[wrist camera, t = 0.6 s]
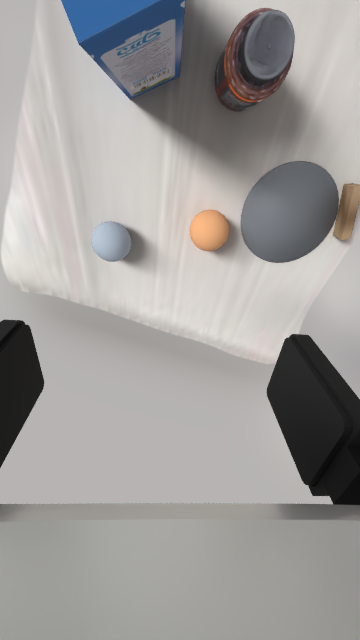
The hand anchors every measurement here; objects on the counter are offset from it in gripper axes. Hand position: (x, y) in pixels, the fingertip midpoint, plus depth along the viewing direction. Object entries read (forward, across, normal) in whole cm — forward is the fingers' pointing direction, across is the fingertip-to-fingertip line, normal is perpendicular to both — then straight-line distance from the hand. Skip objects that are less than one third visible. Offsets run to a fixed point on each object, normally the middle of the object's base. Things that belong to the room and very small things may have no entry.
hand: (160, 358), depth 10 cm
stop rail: (+32, -26, -2) cm, 41 cm away
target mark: (+32, -18, -1) cm, 37 cm away
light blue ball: (+30, +8, +4) cm, 32 cm away
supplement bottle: (+32, -8, -15) cm, 37 cm away
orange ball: (+30, -6, +2) cm, 31 cm away
